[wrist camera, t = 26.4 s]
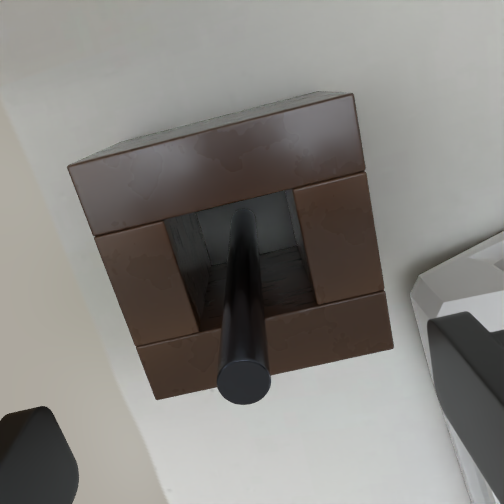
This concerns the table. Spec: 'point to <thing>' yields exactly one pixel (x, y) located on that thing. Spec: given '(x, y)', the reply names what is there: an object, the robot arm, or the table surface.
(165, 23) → the table surface
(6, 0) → the table surface
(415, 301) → the document scanner
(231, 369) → the stylus
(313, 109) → the pen stand
